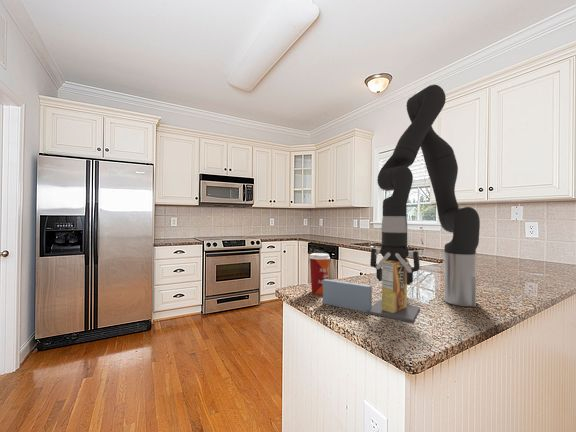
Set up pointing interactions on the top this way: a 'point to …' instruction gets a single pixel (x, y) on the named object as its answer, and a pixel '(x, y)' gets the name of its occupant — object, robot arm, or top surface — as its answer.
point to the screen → (347, 295)
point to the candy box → (394, 286)
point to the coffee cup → (318, 271)
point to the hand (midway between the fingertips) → (394, 282)
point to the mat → (403, 314)
